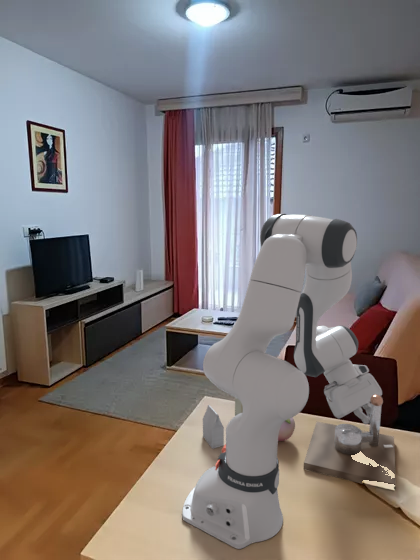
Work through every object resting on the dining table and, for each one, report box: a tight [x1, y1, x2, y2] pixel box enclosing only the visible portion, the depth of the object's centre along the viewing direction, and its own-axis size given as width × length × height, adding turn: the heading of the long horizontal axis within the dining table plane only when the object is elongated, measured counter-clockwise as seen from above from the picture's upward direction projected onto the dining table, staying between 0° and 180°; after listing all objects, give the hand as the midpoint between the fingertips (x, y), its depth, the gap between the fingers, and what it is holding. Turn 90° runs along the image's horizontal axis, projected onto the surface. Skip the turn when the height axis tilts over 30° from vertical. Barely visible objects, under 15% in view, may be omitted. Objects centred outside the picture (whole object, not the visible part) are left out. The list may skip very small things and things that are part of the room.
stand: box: [303, 421, 397, 486], centre depth 113 cm, size 22×22×2 cm
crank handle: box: [334, 395, 384, 455], centre depth 112 cm, size 13×7×15 cm, turn 102°
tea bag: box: [202, 404, 225, 450], centre depth 119 cm, size 4×7×10 cm, turn 24°
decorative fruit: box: [278, 417, 296, 442], centre depth 120 cm, size 9×8×10 cm
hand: (370, 421), depth 116 cm, fingers closed
